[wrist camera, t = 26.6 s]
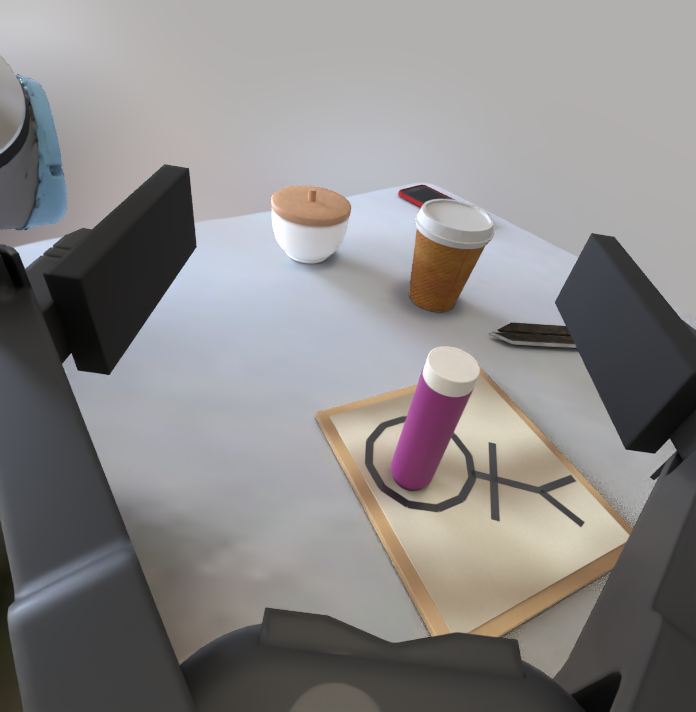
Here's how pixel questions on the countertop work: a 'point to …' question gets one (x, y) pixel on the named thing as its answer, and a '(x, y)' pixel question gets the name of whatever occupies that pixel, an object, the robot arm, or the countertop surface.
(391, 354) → the countertop surface
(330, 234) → the lidded sugar bowl
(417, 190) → the cell phone
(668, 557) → the robot arm
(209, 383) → the countertop surface
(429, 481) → the dot marker
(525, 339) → the knife
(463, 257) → the disposable coffee cup
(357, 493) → the drawing board
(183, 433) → the countertop surface
